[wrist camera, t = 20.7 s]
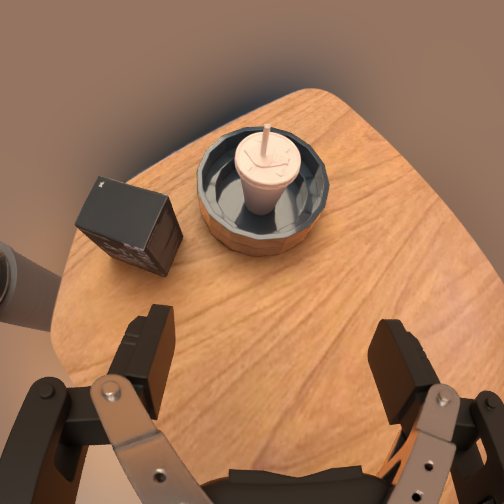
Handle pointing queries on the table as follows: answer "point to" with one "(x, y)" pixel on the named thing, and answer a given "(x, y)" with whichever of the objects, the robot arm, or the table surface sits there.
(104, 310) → the table surface
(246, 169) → the smoothie
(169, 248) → the box
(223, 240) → the bowl
